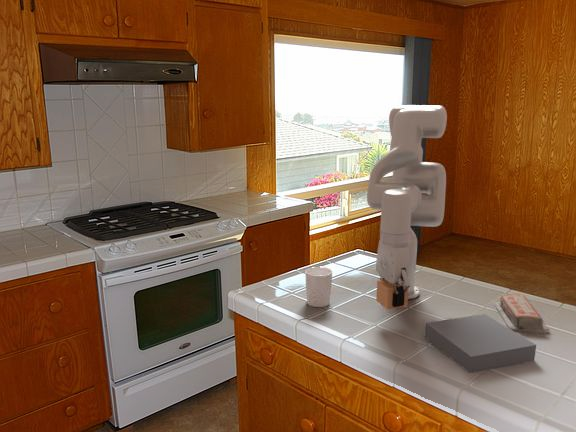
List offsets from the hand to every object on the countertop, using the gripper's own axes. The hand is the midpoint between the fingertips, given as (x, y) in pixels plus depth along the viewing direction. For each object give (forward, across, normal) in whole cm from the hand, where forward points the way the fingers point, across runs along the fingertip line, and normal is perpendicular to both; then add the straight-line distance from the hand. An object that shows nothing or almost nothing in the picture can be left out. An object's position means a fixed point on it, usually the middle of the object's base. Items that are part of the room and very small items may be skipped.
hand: (391, 300), depth 137 cm
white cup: (+7, -19, -14) cm, 24 cm away
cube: (+1, 0, 0) cm, 1 cm away
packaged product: (+8, +8, +36) cm, 38 cm away
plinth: (+6, +19, +13) cm, 24 cm away
